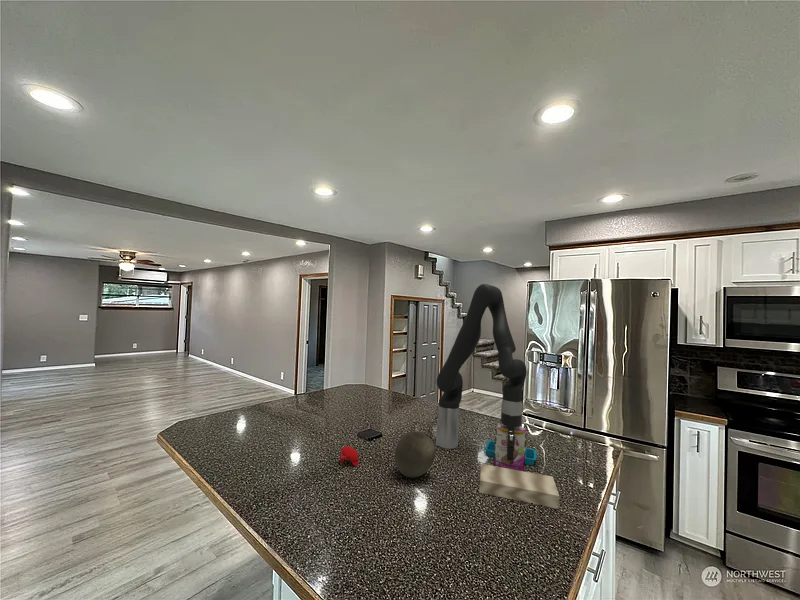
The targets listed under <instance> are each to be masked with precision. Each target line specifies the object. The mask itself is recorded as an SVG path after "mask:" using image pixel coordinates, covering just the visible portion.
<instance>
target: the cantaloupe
mask: <svg viewBox="0 0 800 600" xmlns="http://www.w3.org/2000/svg"><path fill="white" fill-rule="evenodd" d="M436 453H437V452H436V446H435V444H434V442H433V440H432V439H431V438H430V437H429V436H428V435H427V434H425V433H423V432H421V431H417V430H415V431H409V432H407V433H405V434H404V435H403V436H402V437H401V438H400V439H399V440H398V442H397V445H396V447H395V450H394V461H395V465H396V468H397V470H398V471H399V472H400V473H401V474H402V475H403V476H405V477H407V478H413V479H414V478H418V477H421V476H423V475H424V474H425V473H427V472H428V471H429V470H430V469H431V468H432V465H433V464H434V461H435V458H436Z"/></svg>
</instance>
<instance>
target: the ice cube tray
mask: <svg viewBox="0 0 800 600" xmlns="http://www.w3.org/2000/svg"><path fill="white" fill-rule="evenodd" d="M484 450H485V451H486V456H488V457H492V458H494V455H495V440H487V442H486V444H485V447H484ZM535 461H537V450H536V449H533V448H530V447H526V451H525V465H528V466H534V463H535Z"/></svg>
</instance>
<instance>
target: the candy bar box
mask: <svg viewBox="0 0 800 600" xmlns="http://www.w3.org/2000/svg"><path fill="white" fill-rule="evenodd" d="M495 426H496V427H495V439H494V441H495V455H494V457H493V459H494V460H493V466H497V467H502V468H508V469H513V470H519V471H524V472H526V471H525V469H526V464H525V451H526V448H527V447H526V445H527V428H524V427H515V428H514V435H515V438H516V443H515V445H514V448H515V450H514V451H513V460H508V459H507V442H506V436H507V435H508V426H506V425H503V424H502V423H496V425H495ZM507 440H508V437H507ZM509 446H510V447H513V445H510V444H509Z"/></svg>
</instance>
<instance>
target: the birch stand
mask: <svg viewBox="0 0 800 600" xmlns="http://www.w3.org/2000/svg"><path fill="white" fill-rule="evenodd" d="M480 468H481V469H480V475H479V485H478V486H479V489H478V491H479V492H478V493H479V494H483V495H488V494H489V495H488V496H493V495H494V497H499V498H503V499H509V500H512V499H513V501H517V502H522V501H523V502H522V503H527V502H528V503H527V504H531V503H533V505H536V504H537V505H538V506H541V505H542V507H545V508H552V509H556V510H560V494H559V491H558V488H557V485H556V483H555V480H554V477H553V476H551V475H544V474H540V473H535V472H529V471H519V470H513V469H508V468H502V467H497V466H494V465H491V464H486V463H485V464H484V463H481V465H480ZM537 505H536V506H537Z"/></svg>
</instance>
